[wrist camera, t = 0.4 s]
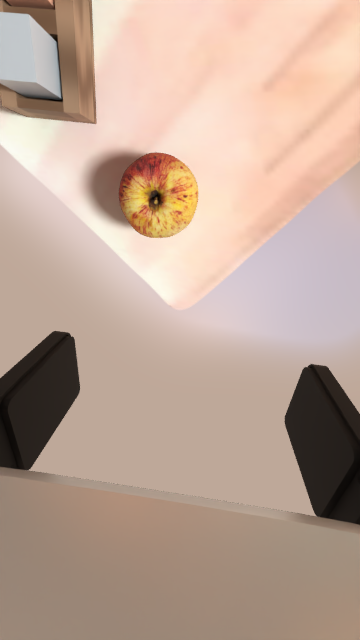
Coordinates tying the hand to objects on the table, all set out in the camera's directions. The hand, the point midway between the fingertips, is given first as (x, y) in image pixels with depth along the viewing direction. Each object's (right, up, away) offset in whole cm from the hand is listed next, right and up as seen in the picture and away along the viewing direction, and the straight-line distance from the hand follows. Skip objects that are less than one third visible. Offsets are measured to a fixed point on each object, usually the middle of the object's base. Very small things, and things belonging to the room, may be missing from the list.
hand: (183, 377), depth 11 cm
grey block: (-15, +29, +17) cm, 37 cm away
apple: (-2, +19, +25) cm, 31 cm away
